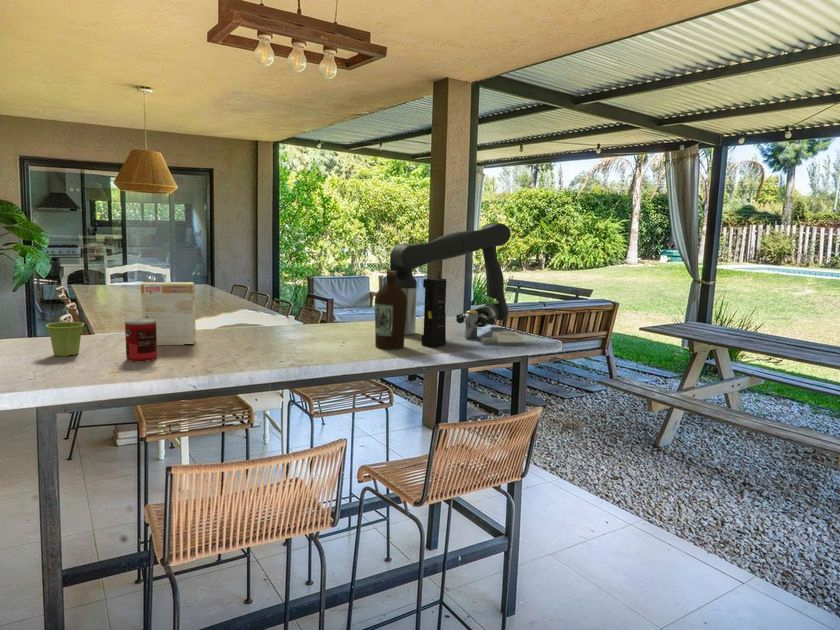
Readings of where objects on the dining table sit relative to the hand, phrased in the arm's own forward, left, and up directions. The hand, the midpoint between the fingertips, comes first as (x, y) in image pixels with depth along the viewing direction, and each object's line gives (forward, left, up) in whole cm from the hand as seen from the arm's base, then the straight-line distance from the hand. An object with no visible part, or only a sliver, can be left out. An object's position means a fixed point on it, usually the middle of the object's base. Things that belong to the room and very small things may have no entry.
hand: (470, 321), depth 213 cm
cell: (+1, +1, -7) cm, 7 cm away
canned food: (-101, -37, -7) cm, 108 cm away
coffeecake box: (-100, -14, -7) cm, 101 cm away
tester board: (+10, -6, -7) cm, 13 cm away
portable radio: (-15, -13, -7) cm, 21 cm away
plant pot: (-123, -32, -7) cm, 127 cm away
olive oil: (-30, -16, -7) cm, 35 cm away
